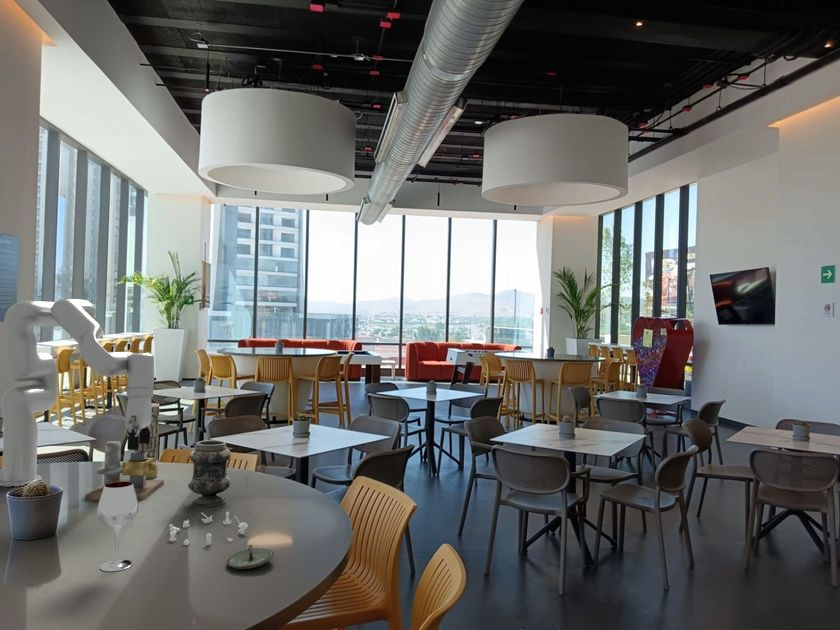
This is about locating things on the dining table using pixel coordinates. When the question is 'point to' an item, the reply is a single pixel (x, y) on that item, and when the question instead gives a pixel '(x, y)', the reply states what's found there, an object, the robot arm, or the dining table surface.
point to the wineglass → (117, 516)
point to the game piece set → (208, 536)
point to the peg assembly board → (124, 472)
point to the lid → (250, 558)
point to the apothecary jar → (209, 472)
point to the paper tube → (152, 439)
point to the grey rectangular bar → (138, 480)
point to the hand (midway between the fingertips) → (138, 446)
